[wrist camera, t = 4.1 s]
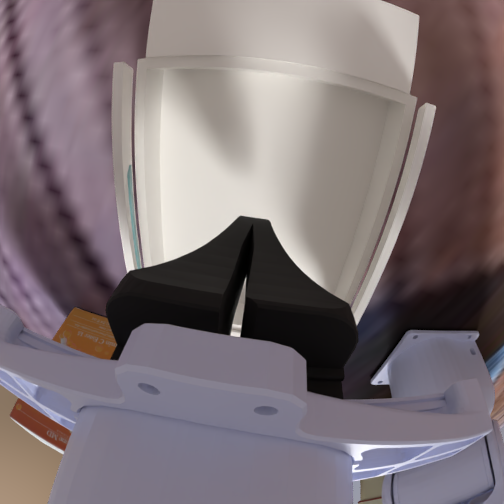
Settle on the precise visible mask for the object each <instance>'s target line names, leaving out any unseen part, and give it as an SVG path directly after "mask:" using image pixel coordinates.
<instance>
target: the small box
mask: <svg viewBox="0 0 504 504" xmlns="http://www.w3.org/2000/svg"><path fill="white" fill-rule="evenodd" d="M52 340H53V341H56V342H58V343H60V344H63V345H65V346H68V347H70V348H73V349H75V350H78V351H81V352H83V353H86V354H89V355H91V356H94V357H97V358H100V359H107V360H110V358H111V356H112V354H113V352H114V350H115V348H116V346H117V343H116V341H115V338H114V336H113V333H112V330H111V327H110V325H109V322H108V319H107V318H106V317H102V316H99V315H96V314H93V313H90V312H87V311H84V310H81V309H80V308H77V307H74V308H73V310H72V311H71V312H70V314H69V315H68V317H67V318H66V320H65V321H64V323H63V324H62V326H61V327H60V329H59V330H58V331H57V333H56V335H55V336H54V338H53V339H52ZM10 417H11V418H12V419H13V420H14V421H15V422H16V423H18V424H19V425H20V426H21V427H23V428H24V429H25V430H26V431H28V432H29V433H30V434H32V435H33V436H34V437H36V438H37V439H38V440H40V441H41V442H43V443H44V444H46V445H48V446H50V447H52V448H53V449H55V450H57V451H59V452H60V453H62V454H64V452H65V449H66V446H67V444H68V441H69V438H70V436H71V433H72V431H71V430H69V429H67V428H65V427H64V426H62V425H60V424H59V423H57V422H55V421H54V420H52V419H50V418H49V417H47V416H45V415H44V414H42V413H41V412H39V411H38V410H36V409H35V408H33V407H32V406H30V405H29V404H27V403H26V402H24V401H23V400H22V399H20V398H18V400H17V402H16V404H15V406H14V408H13V410H12V412H11V414H10Z"/></svg>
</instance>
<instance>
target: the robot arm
mask: <svg viewBox="0 0 504 504" xmlns="http://www.w3.org/2000/svg"><path fill="white" fill-rule="evenodd" d="M245 278H246V289H245V305H244V312H243V319H242V327H241V334H240V337H235V336H230V335H231V330H232V324H233V320H234V316H235V312H236V309H237V305H238V302H239V298H240V295H241V292H242V288H243V285H244V281H245ZM106 315H107V319H108V322H109V325H110V327H111V330H112V333H113V336H114V338H115V341H116V343H117V346H116V348H115V350H114V352H113V354H112V356H111V358H110V360H107V359H100V358H97V357H94V356H91V355H89V354H86V353H83V352H81V351H78V350H75V349H73V348H70V347H68V346H65V345H63V344H60V343H58V342H56V341H53V340H51V339H49V338H46V337H44V336H42V335H40V334H37V333H35V332H33V331H31V330H29V329H27V328H25V327H24V326H23V323H22V321H21V319H20V318H19V316H18V315H17V314H16V313H15V312H14V311H12V310H11V309H9V308H7V307H5V306H3V305H1V304H0V384H1V385H2V386H4V387H5V388H6V389H7V390H9V391H10V392H12V393H13V394H15V395H16V396H17V397H19V398H20V399H22V400H23V401H24V402H26V403H27V404H29V405H30V406H32V407H33V408H35V409H36V410H38V411H39V412H41V413H42V414H44V415H45V416H47V417H49V418H50V419H52V420H54V421H55V422H57V423H59V424H60V425H62V426H64V427H65V428H67V429H69V430H71V431H72V433H71V436H70V438H69V441H68V444H67V446H66V449H65V452H64V454H63V457H62V460H61V463H60V466H59V469H58V472H57V475H56V478H55V481H54V484H53V487H52V490H51V494H50V497H49V501H48V504H353V481H356V480H362V479H368V478H373V477H378V476H383V475H385V477H384V480H383V484H382V503H383V504H504V443H503V439H502V435H501V432H500V428H499V424H498V421H497V420H494V419H491V418H490V414H491V412H492V409H493V406H494V401H495V390H494V385H493V382H492V380H491V377H490V374H489V372H488V370H487V367H486V365H485V362H484V360H483V358H482V355H481V353H480V351H479V349H478V347H477V344H476V342H475V340H476V339H477V338H478V336H479V333H478V331H432V330H409V331H407V332H406V333H405V335H404V336H403V338H402V339H401V340H400V342H399V343H398V345H397V346H396V347H395V349H394V350H393V352H392V353H391V354H390V356H389V357H388V358H387V360H386V361H385V362H384V364H383V365H382V366H381V368H380V369H379V370H378V371H377V373H376V374H375V375H374V376H373V378H372V379H371V384H373V385H380V384H389V385H390V390H391V395H392V398H388V399H362V400H343V393H342V383H341V381H343V380H344V368H343V367H344V365H345V364H346V362H347V361H348V359H349V358H350V356H351V354H352V353H353V351H354V350H355V348H356V345H357V343H358V330H357V326H356V322H355V319H354V315H353V313H352V311H351V308H350V305H349V303H347V302H345V301H343V300H342V299H340V298H338V297H336V296H335V295H333V294H331V293H330V292H328V291H327V290H325V289H324V288H322V287H321V286H320V285H318V284H317V283H316V282H314V281H313V280H312V279H311V278H310V277H308V276H307V275H306V274H305V273H304V272H303V271H302V270H301V269H300V268H299V267H298V266H297V265H296V264H295V263H294V262H293V261H292V259H291V258H290V257H289V255H288V254H287V253H286V251H285V250H284V248H283V247H282V245H281V243H280V241H279V240H278V238H277V236H276V234H275V232H274V230H273V227H272V225H271V222H270V221H269V220H268V219H261V218H254V217H247V216H239V217H238V218H237V219H236V220H235V221H234V222H233V223H232V224H230V225H229V226H228V227H227V228H226V229H225V230H224V231H223V232H221V233H220V234H219V235H218V236H216V237H215V238H214V239H212V240H211V241H209V242H208V243H207V244H205V245H203V246H202V247H200V248H198V249H196V250H194V251H192V252H190V253H188V254H186V255H183V256H181V257H179V258H176V259H174V260H171V261H168V262H165V263H161V264H158V265H154V266H150V267H145V268H140V269H136V270H130V271H129V272H128V273H127V274H126V276H125V277H124V278H123V279H122V281H121V282H120V284H119V285H118V287H117V288H116V290H115V291H114V293H113V294H112V296H111V298H110V299H109V301H108V302H107V306H106Z"/></svg>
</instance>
